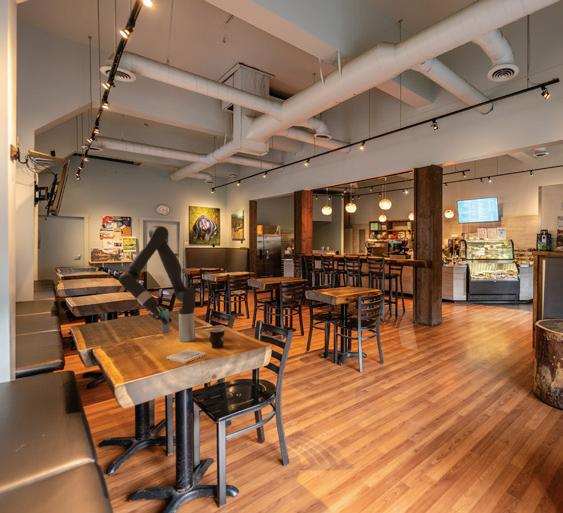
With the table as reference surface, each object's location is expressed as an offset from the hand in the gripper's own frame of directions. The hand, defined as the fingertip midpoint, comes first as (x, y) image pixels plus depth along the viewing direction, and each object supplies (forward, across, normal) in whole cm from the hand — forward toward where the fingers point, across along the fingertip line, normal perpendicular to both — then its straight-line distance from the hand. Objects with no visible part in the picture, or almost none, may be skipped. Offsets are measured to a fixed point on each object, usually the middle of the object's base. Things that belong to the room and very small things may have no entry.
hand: (168, 322), depth 180 cm
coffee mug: (+28, +12, -3) cm, 31 cm away
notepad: (+21, -6, +4) cm, 22 cm away
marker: (+3, 0, +5) cm, 6 cm away
